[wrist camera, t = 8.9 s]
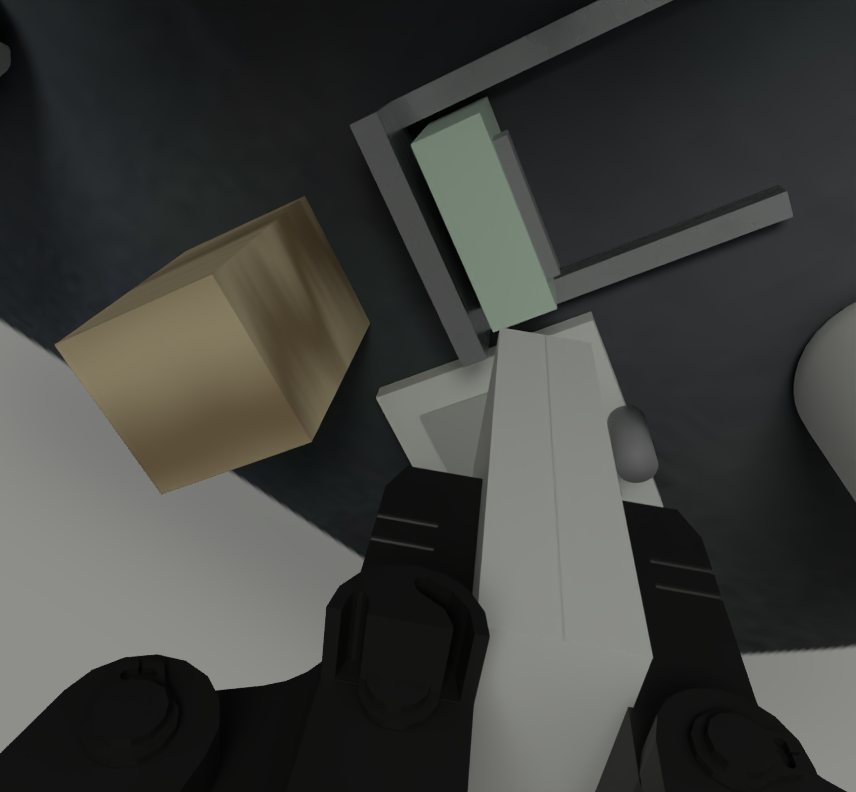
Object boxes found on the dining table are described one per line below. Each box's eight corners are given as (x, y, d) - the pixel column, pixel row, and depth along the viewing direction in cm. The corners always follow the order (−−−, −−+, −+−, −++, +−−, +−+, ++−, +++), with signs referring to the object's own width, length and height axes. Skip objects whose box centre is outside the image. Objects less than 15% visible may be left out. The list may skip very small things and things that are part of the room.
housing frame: (371, 110, 28) (349, 124, 24) (719, -60, 24) (752, -72, 20) (469, 327, 31) (462, 367, 28) (784, 209, 28) (822, 239, 24)
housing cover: (428, 123, 28) (410, 144, 23) (499, 89, 27) (494, 105, 22) (497, 285, 30) (493, 332, 26) (564, 260, 29) (571, 303, 25)
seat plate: (368, 391, 33) (347, 443, 29) (605, 306, 30) (617, 350, 26) (454, 553, 37) (446, 617, 33) (673, 492, 34) (692, 555, 30)
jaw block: (186, 251, 31) (54, 344, 23) (304, 195, 30) (212, 274, 21) (256, 367, 34) (161, 494, 25) (370, 323, 32) (311, 441, 23)
